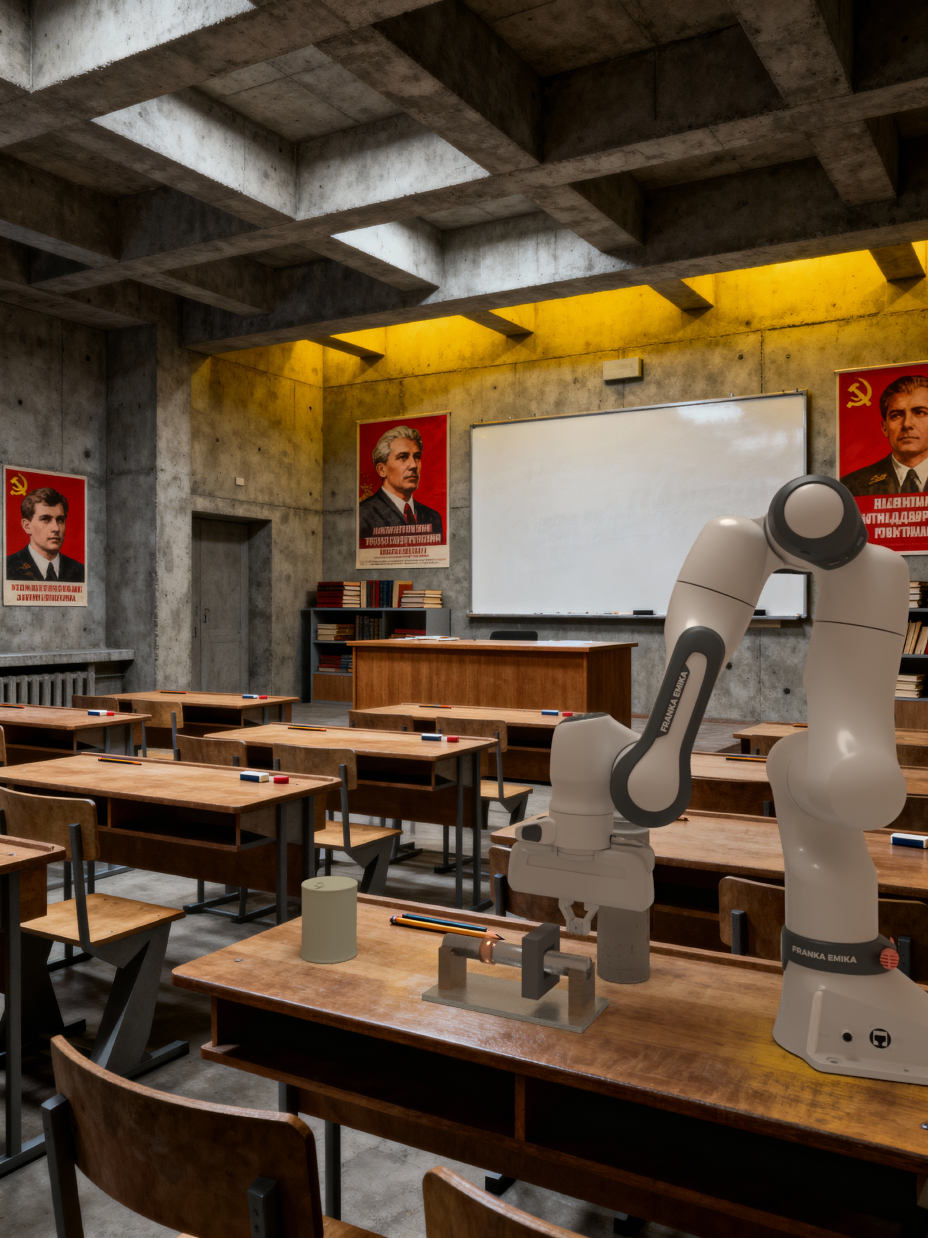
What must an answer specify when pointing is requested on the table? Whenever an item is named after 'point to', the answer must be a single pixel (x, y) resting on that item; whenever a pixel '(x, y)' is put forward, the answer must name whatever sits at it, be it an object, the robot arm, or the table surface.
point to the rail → (515, 984)
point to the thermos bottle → (624, 928)
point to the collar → (538, 960)
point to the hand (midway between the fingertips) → (578, 933)
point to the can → (329, 919)
